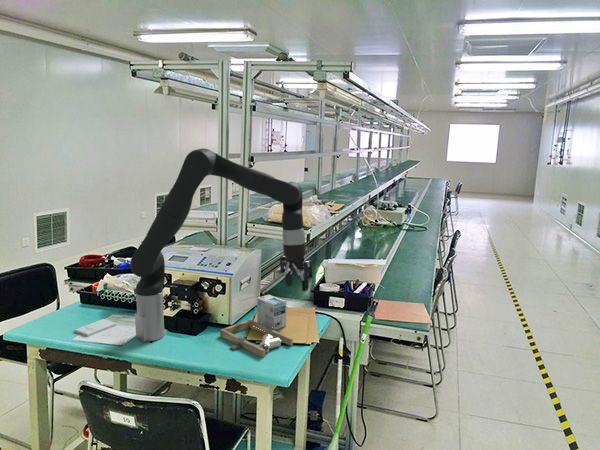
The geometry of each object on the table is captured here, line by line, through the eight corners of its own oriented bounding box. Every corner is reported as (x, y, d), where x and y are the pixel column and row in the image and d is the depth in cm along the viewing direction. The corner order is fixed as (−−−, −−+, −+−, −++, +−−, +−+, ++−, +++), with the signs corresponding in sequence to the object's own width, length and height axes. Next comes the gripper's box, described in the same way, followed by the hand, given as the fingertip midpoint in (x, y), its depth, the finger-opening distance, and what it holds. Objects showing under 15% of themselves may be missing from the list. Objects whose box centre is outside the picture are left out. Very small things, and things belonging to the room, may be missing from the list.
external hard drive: (116, 326, 182) (87, 338, 172) (103, 322, 186) (74, 333, 176) (116, 322, 182) (87, 333, 172) (103, 318, 186) (74, 329, 176)
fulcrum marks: (234, 350, 163) (234, 343, 162) (229, 348, 165) (229, 340, 164) (280, 333, 178) (280, 326, 177) (274, 330, 180) (274, 324, 179)
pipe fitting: (281, 345, 169) (263, 342, 170) (282, 335, 168) (263, 332, 169) (278, 355, 161) (258, 352, 162) (279, 345, 160) (259, 342, 161)
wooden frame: (262, 357, 158) (262, 350, 157) (220, 335, 174) (220, 329, 174) (292, 345, 168) (292, 338, 167) (250, 325, 184) (250, 319, 184)
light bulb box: (286, 326, 184) (287, 300, 182) (274, 331, 180) (274, 304, 178) (269, 318, 192) (269, 293, 190) (256, 323, 187) (256, 297, 185)
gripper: (272, 241, 160) (275, 286, 162) (298, 246, 149) (302, 295, 151) (289, 237, 164) (292, 281, 167) (316, 242, 153) (319, 289, 156)
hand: (297, 288), depth 159 cm, fingers open, 8 cm apart
